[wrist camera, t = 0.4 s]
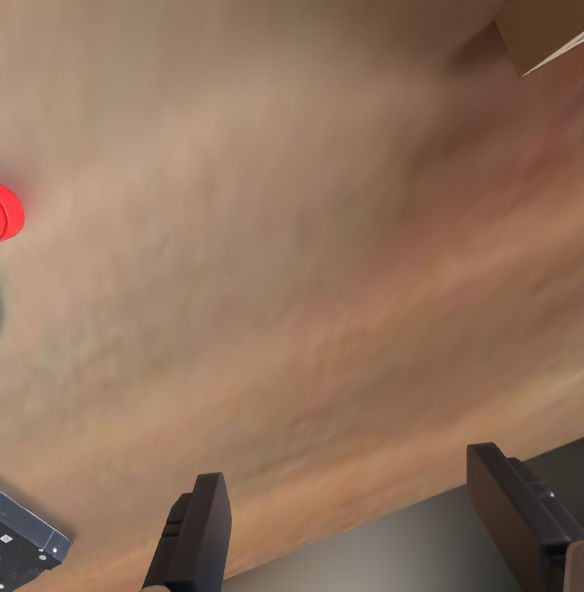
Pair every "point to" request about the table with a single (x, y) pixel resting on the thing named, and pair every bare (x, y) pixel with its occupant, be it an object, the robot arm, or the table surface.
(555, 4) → the photo frame
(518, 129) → the table surface
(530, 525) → the robot arm
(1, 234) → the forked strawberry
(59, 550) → the disk drive
